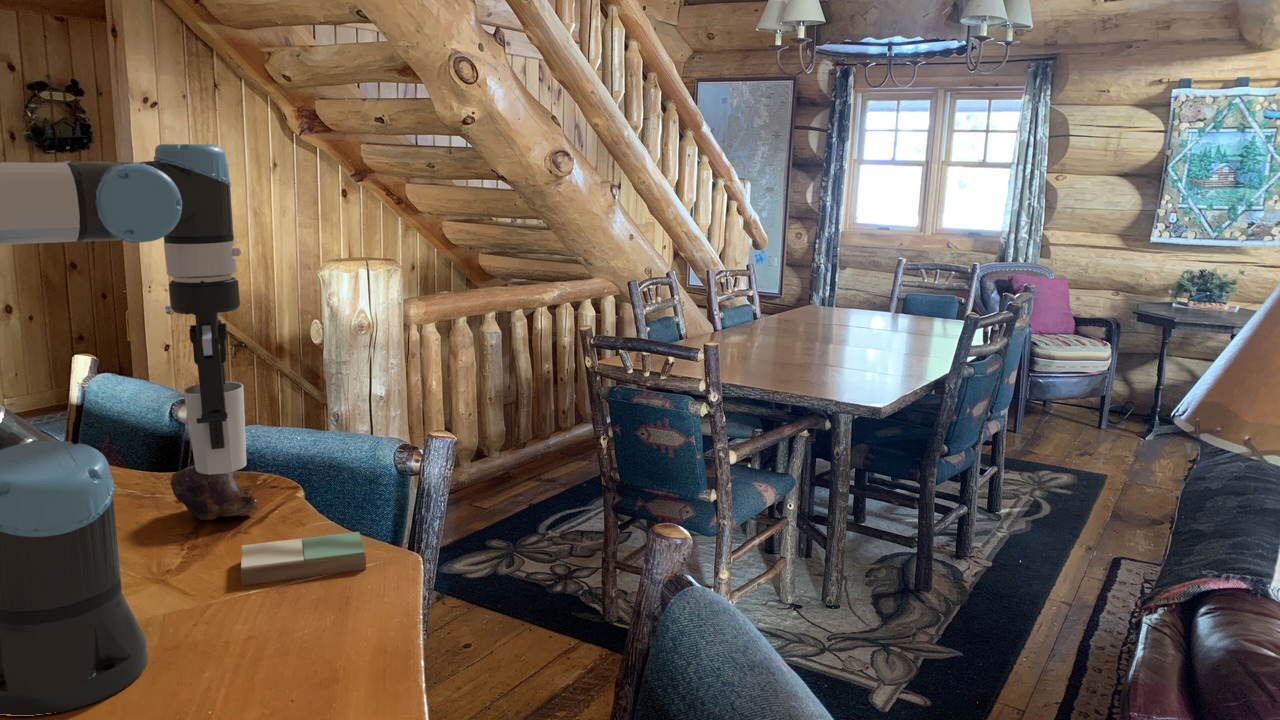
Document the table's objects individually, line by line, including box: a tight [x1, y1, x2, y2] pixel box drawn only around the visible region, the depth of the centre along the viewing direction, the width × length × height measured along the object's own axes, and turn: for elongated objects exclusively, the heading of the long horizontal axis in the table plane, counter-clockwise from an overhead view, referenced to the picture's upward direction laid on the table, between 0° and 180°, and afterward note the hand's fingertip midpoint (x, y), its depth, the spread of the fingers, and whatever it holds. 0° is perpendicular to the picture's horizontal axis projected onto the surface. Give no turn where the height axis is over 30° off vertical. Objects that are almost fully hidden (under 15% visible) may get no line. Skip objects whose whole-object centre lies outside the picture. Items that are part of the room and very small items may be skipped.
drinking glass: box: [183, 381, 247, 474], centre depth 116 cm, size 7×7×10 cm
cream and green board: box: [240, 531, 367, 586], centre depth 125 cm, size 8×15×2 cm, turn 112°
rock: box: [169, 465, 258, 521], centre depth 141 cm, size 12×9×10 cm
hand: (221, 464), depth 117 cm, fingers closed on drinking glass, 6 cm apart
